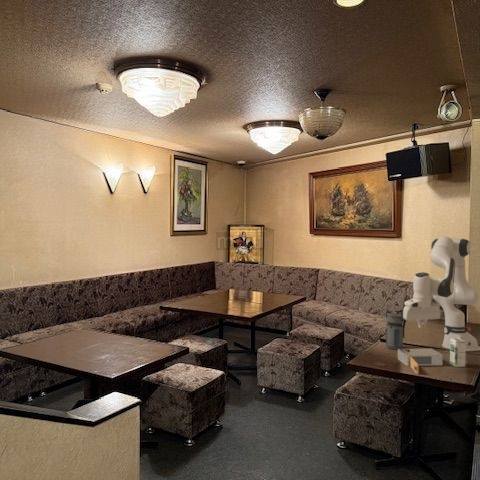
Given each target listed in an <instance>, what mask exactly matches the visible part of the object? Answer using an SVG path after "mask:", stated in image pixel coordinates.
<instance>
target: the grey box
mask: <svg viewBox="0 0 480 480" xmlns="http://www.w3.org/2000/svg"><path fill="white" fill-rule="evenodd" d="M410 356H412V358H413V359H414V360H415V361H416V362H417V364H418V365H419V367H423V366H425V367H426V366H427V367H428V366H431V367H432V366H433V367H434V366H435V367H436V366H439V367H440V366H443V354H441V352H439V351H436V350H435V349H434V348H432V347H431V348H402V349H398V350H397V360H398V361H400V362H401V363H402V364H404V365H405V366H406V367H410Z"/></svg>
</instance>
